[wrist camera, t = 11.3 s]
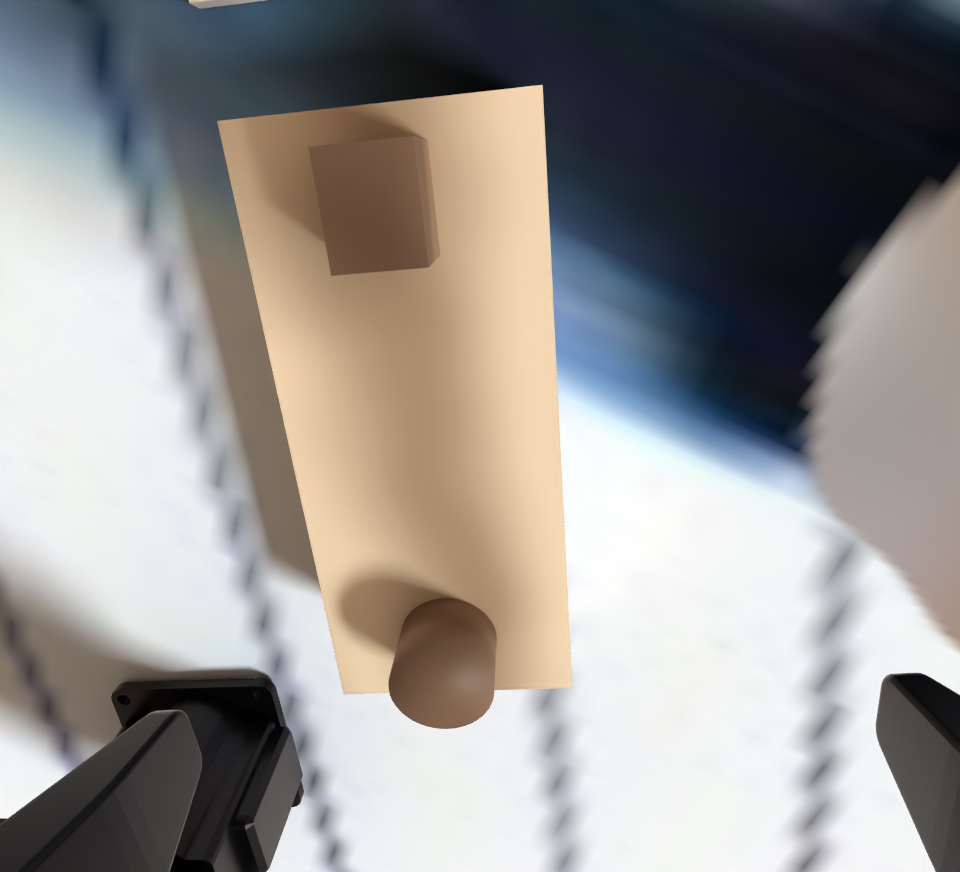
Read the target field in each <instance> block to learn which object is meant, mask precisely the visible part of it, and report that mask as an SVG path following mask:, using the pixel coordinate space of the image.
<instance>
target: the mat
mask: <svg viewBox="0 0 960 872" xmlns="http://www.w3.org/2000/svg"><path fill="white" fill-rule="evenodd" d="M258 1H265V0H189V3H190V4H192V5H194V6H196V7H198V8H200V9H203V8H210V7H218V6H226V5H234V4H242V3H250V2H258Z"/></svg>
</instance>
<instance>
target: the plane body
mask: <svg viewBox="0 0 960 872" xmlns="http://www.w3.org/2000/svg"><path fill="white" fill-rule="evenodd" d="M217 123H218V127H219V132H220V136H221V141H222V145H223V150H224V154H225V159H226V164H227V168H228V173H229V177H230V182H231V186H232V191H233V195H234V200H235V204H236V209H237V213H238V218H239V222H240V227H241V231H242V236H243V240H244V245H245V249H246V254H247V259H248V263H249V268H250V272H251V277H252V281H253V286H254V290H255V295H256V299H257V304H258V308H259V313H260V317H261V322H262V326H263V331H264V335H265V340H266V344H267V349H268V353H269V358H270V363H271V367H272V372H273V376H274V381H275V385H276V390H277V394H278V399H279V403H280V408H281V412H282V417H283V421H284V426H285V430H286V435H287V439H288V444H289V448H290V453H291V458H292V462H293V467H294V471H295V476H296V480H297V485H298V489H299V494H300V498H301V503H302V507H303V512H304V516H305V521H306V525H307V530H308V534H309V539H310V543H311V548H312V552H313V557H314V562H315V566H316V571H317V575H318V580H319V584H320V589H321V593H322V598H323V602H324V607H325V611H326V616H327V620H328V625H329V629H330V634H331V638H332V643H333V647H334V652H335V657H336V661H337V666H338V670H339V675H340V679H341V684H342V688H343V693H344V694H362V693H390V696H391V698H392V700H393V702H394V704H395V705H396V706H397V708H398V709H399V710H400V711H401V712H402V713H403V714H404V715H406V716H407V717H408V718H410V719H411V720H413V721H415V722H417V723H419V724H422V725H425V726H428V727H433V728H440V729H450V728H458V727H462V726H465V725H468V724H470V723H473V722H474V721H476V720H478V719H479V718H480V717H482V716H483V715H484V714H485V713H486V711H487V710H488V709H489V707H490V705H491V703H492V700H493V697H494V690H511V689H548V688H572V673H571V653H570V633H569V613H568V592H567V572H566V552H565V531H564V511H563V491H562V471H561V450H560V430H559V410H558V390H557V369H556V349H555V329H554V309H553V288H552V268H551V248H550V228H549V207H548V187H547V167H546V147H545V126H544V106H543V86H542V85H537V86H528V87H519V88H510V89H501V90H492V91H483V92H474V93H465V94H456V95H447V96H438V97H429V98H420V99H411V100H402V101H393V102H384V103H375V104H366V105H357V106H348V107H339V108H330V109H321V110H312V111H303V112H294V113H285V114H276V115H267V116H258V117H249V118H240V119H231V120H222V121H217Z"/></svg>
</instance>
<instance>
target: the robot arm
mask: <svg viewBox="0 0 960 872" xmlns="http://www.w3.org/2000/svg"><path fill="white" fill-rule="evenodd" d="M259 691H261V692H263V693H261V692H259ZM264 693H265V694H264ZM111 698H112V702H113V704H114V707H115V709H116V712H117V714H118V717H119V719H120V722H121V724H122V728H121V730H120V731H119V733H118V734H117V735H116V737H115V738H114V740H113V741H111V742H110V743H109V744H107V745H106V746H105V747H103V748H102V749H101V750H99V751H98V752H97V753H95V754H94V755H93V756H91V757H90V758H88V759H87V760H86V761H84V762H83V763H82V764H80V765H79V766H78V767H76V768H75V769H74V770H72V771H71V772H70V773H68V774H67V775H66V776H64V777H63V778H62V779H60V780H59V781H58V782H56V783H55V784H54V785H52V786H51V787H50V788H48V789H47V790H46V791H44V792H43V793H41V794H40V795H39V796H37V797H36V798H35V799H33V800H32V801H31V802H29V803H28V804H27V805H25V806H24V807H23V808H21V809H20V810H19V811H17V812H16V813H15V814H13V815H12V816H11V817H9V818H8V819H0V872H267V870H268V869H269V868H270V865H271V862H272V860H273V857H274V854H275V851H276V848H277V846H278V843H279V840H280V837H281V835H282V832H283V829H284V826H285V824H286V821H287V818H288V815H289V812H290V810H291V807H296V806H297V805H299V804H300V802H301V799H302V796H303V794H304V790H303V786H302V782H301V779H302V770H301V767H300V763H299V759H298V755H297V752H296V748H295V744H294V740H293V737H292V733H291V731H290V730H289V728H288V727H287V726H286V723H285V719H284V716H283V712H282V708H281V705H280V701H279V697H278V693H277V690H276V687H275V685H274V684H273V683H272V682H271V681H269V680H267V679H261V678H260V679H226V680H192V681H158V682H126V683H121V684H120V685H119V686H118V687H117V688H116V690H115V691H114V692H113V694H112V696H111ZM876 733H877V738H878V742H879V745H880V747H881V749H882V752H883V754H884V756H885V759H886V761H887V763H888V765H889V768H890V770H891V772H892V774H893V777H894V779H895V781H896V784H897V786H898V788H899V790H900V793H901V795H902V797H903V799H904V802H905V804H906V806H907V808H908V811H909V813H910V815H911V818H912V820H913V822H914V824H915V827H916V829H917V831H918V833H919V836H920V838H921V840H922V843H923V845H924V847H925V849H926V852H927V854H928V856H929V858H930V860H931V862H932V865H933V867H934V869H935V871H936V872H960V695H959V694H957V693H955V692H954V691H952V690H950V689H949V688H947V687H945V686H944V685H942V684H940V683H939V682H937V681H935V680H934V679H932V678H930V677H928V676H926V675H924V674H921V673H902V674H890V675H887V676H886V677H885V678H884V679H883V681H882V685H881V692H880V699H879V706H878V713H877V719H876Z"/></svg>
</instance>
